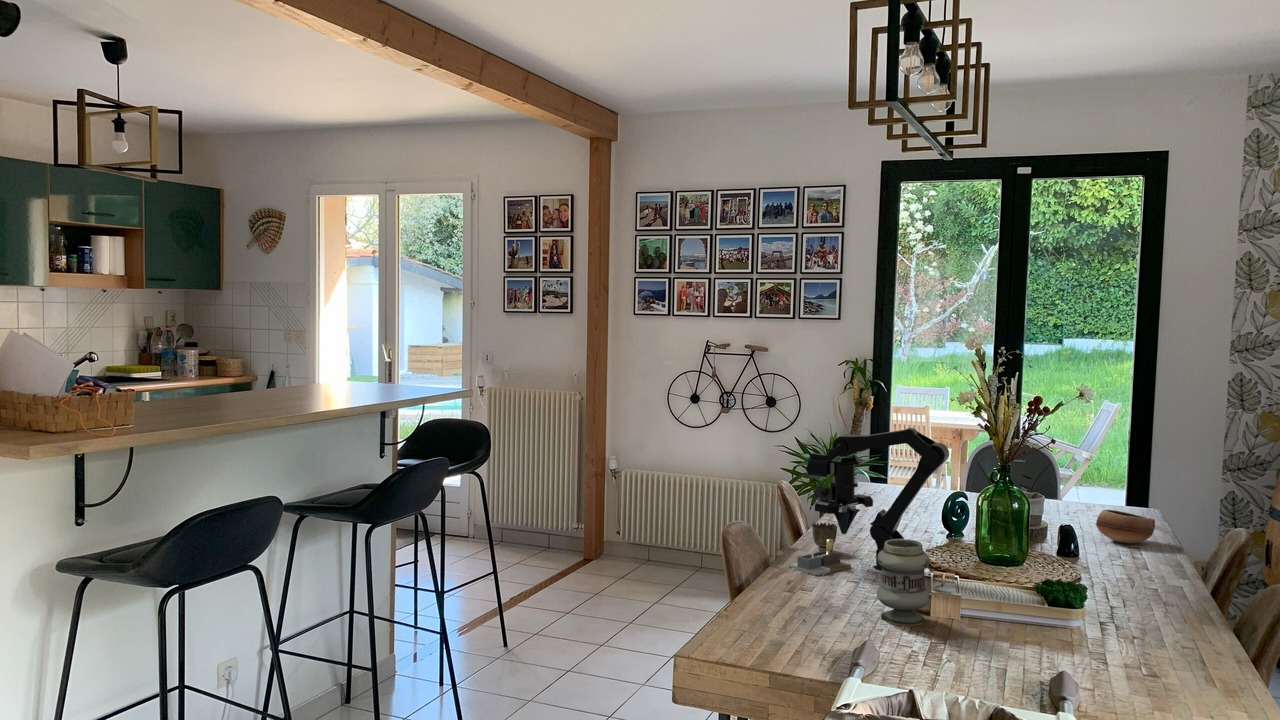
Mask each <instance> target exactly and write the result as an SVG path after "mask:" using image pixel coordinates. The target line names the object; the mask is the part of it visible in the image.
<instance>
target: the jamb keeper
mask: <svg viewBox="0 0 1280 720" xmlns="http://www.w3.org/2000/svg"><path fill="white" fill-rule="evenodd" d="M812 556H813V554H811V553H809V554H804V555H800V556H797V562H794V563H790V564H789V566H788V568H789V567H792V568H795V569H797V570H796V571H798V570H800V571H799V572H801V571H803V572H802V573H805V572H806V573H805V574H808V573H810V574H809V575H811V574H813V575H812V576H815V575H818V576H821V575H820V574H822V575H825V573H826V574H830V573H831V572H830V569H829V568H825V567H822V566H821V557H815V558H814V557H812ZM795 569H794V570H795Z"/></svg>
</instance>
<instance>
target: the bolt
mask: <svg viewBox="0 0 1280 720" xmlns="http://www.w3.org/2000/svg"><path fill="white" fill-rule="evenodd" d="M834 545H835V543H834V540H833V539H827V542H826V553H825V554H821V555H816V556H814V555H813V558H815V557H821V565H822V564H823V556H824V555H829V554H834V553H835V552H834V551H835V550H834V549H835V546H834Z"/></svg>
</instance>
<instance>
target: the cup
mask: <svg viewBox="0 0 1280 720" xmlns="http://www.w3.org/2000/svg"><path fill="white" fill-rule="evenodd" d="M811 527H812V528H811V529H812V538H813V542H814V544H815V545H816V546H817V550H818V552H820V551H821V552H822V551H826V542H827V539H833V540H834V544H835V542H836V539H837V533H838V526H837V524H835V523H830V522H828V523H827V524H826V522H820V523H819V522H817V523H814V522H812V524H811Z"/></svg>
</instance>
